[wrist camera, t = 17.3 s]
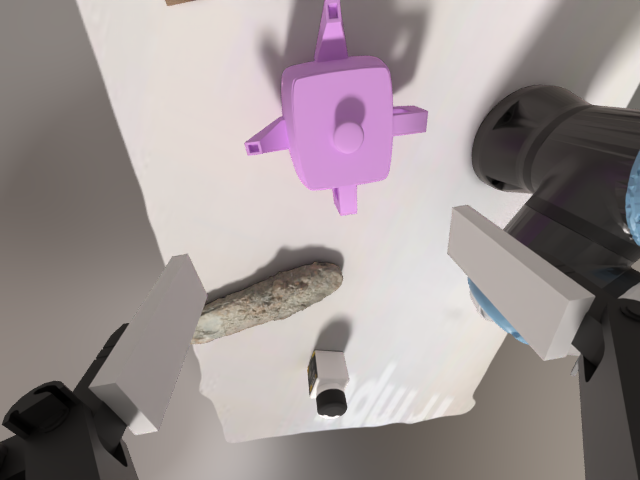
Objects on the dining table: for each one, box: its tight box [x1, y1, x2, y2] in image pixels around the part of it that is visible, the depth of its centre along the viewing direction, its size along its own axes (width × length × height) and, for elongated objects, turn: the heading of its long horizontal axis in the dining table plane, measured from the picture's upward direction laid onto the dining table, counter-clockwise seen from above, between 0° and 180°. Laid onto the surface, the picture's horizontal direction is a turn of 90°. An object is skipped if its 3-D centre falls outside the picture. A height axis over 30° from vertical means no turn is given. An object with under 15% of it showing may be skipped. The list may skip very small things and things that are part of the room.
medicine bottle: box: [307, 350, 349, 419], centre depth 60 cm, size 7×7×12 cm
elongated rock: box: [190, 262, 343, 344], centre depth 52 cm, size 35×5×10 cm
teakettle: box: [244, 0, 428, 216], centre depth 33 cm, size 17×17×12 cm
